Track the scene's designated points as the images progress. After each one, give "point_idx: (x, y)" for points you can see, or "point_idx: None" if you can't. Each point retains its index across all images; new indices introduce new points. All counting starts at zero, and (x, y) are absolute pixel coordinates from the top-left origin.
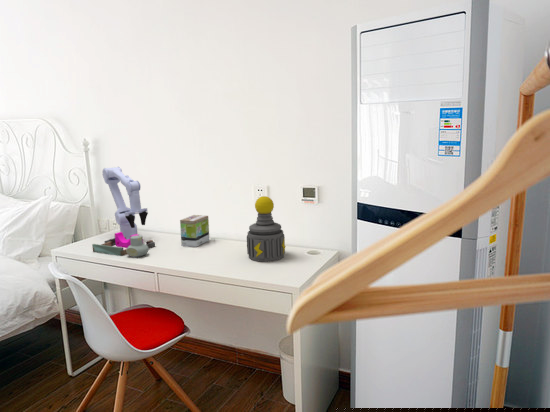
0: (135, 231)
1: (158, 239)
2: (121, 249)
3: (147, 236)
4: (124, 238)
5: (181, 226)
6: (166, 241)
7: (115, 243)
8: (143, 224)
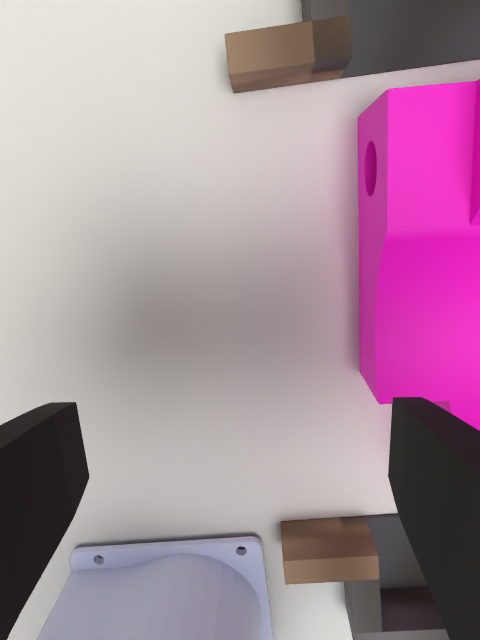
0: (77, 623)
1: (13, 221)
2: None
3: None
4: None
5: None
6: (13, 8)
7: None
8: (72, 432)
